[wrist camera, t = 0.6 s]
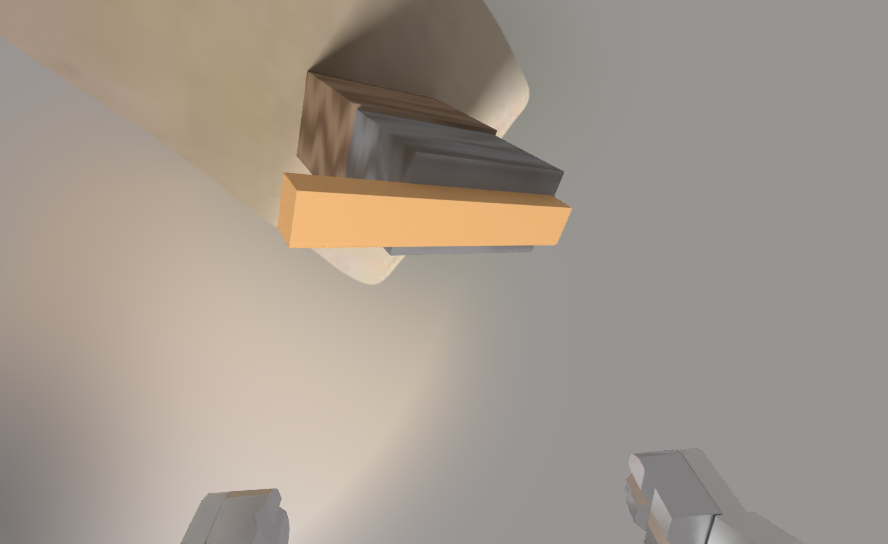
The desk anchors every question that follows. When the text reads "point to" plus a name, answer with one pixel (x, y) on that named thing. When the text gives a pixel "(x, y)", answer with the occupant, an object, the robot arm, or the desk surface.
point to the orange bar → (412, 215)
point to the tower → (412, 147)
